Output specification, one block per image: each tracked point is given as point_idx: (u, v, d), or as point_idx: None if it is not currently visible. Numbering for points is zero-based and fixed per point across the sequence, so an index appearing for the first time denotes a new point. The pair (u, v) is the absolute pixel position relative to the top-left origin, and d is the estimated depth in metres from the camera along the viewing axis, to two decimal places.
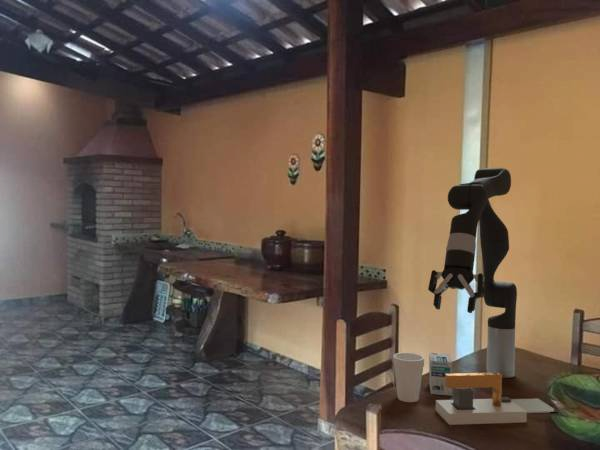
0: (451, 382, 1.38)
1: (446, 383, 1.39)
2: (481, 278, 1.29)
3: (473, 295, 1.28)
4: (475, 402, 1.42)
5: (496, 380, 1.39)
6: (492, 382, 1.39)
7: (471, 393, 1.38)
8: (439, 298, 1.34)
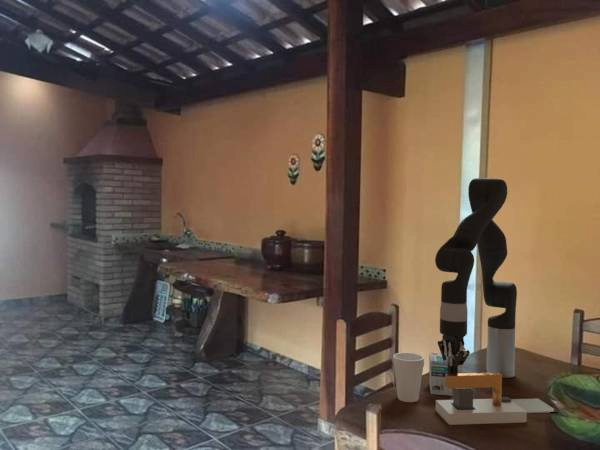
0: (451, 382, 1.38)
1: (446, 383, 1.39)
2: (460, 355, 1.36)
3: (451, 364, 1.40)
4: (475, 402, 1.42)
5: (496, 380, 1.39)
6: (492, 382, 1.39)
7: (471, 393, 1.38)
8: None
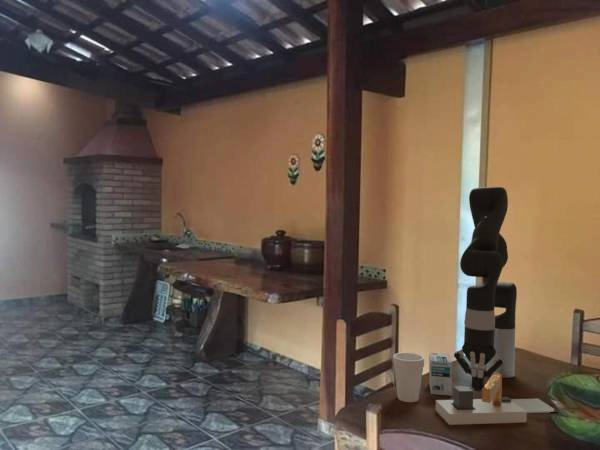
0: (491, 395, 1.28)
1: (487, 398, 1.28)
2: (499, 365, 1.28)
3: (482, 376, 1.30)
4: (475, 402, 1.42)
5: (500, 380, 1.39)
6: (499, 383, 1.38)
7: (471, 393, 1.38)
8: None
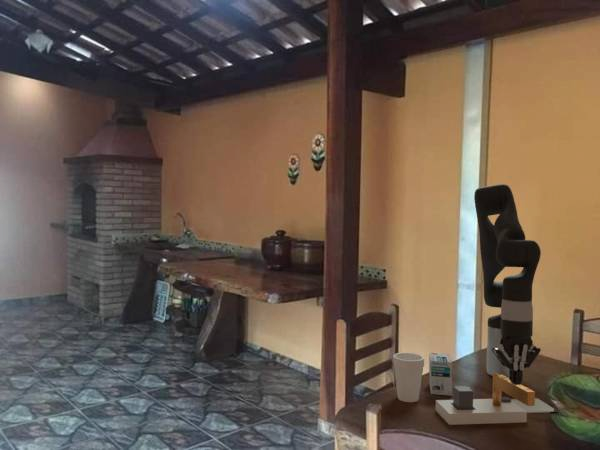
0: None
1: (532, 401, 1.26)
2: (537, 353, 1.28)
3: (522, 368, 1.27)
4: (475, 402, 1.42)
5: None
6: None
7: (471, 393, 1.38)
8: None
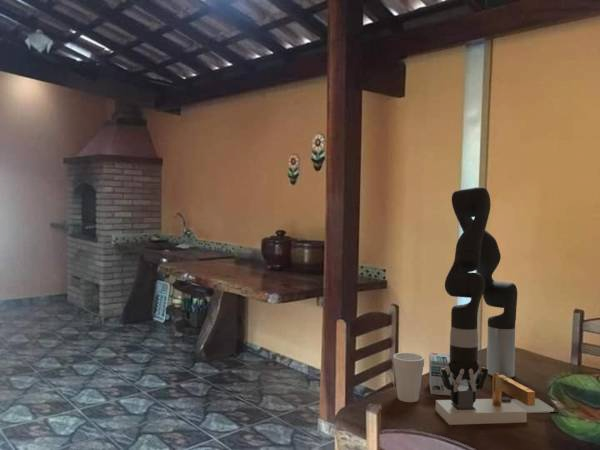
0: None
1: (532, 401, 1.26)
2: (486, 374, 1.39)
3: (475, 389, 1.39)
4: (475, 402, 1.42)
5: None
6: None
7: (471, 393, 1.38)
8: None
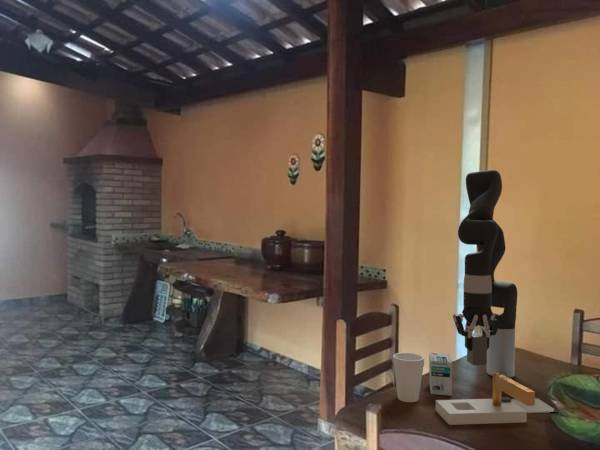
0: None
1: (532, 401, 1.26)
2: (499, 320, 1.40)
3: (489, 335, 1.40)
4: (475, 402, 1.42)
5: None
6: None
7: (485, 339, 1.39)
8: None
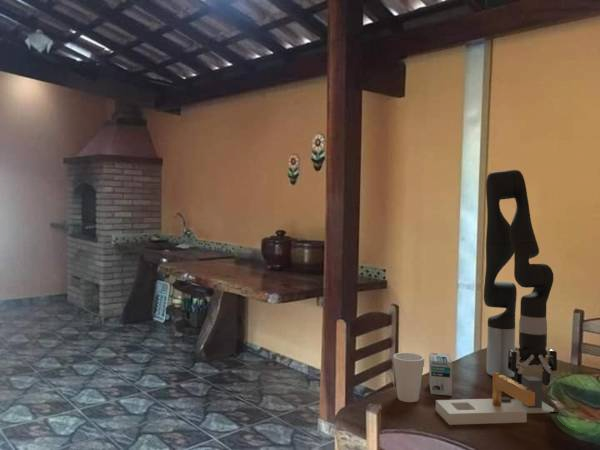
0: None
1: (532, 401, 1.26)
2: (555, 355, 1.47)
3: (550, 371, 1.47)
4: (475, 402, 1.42)
5: None
6: None
7: (540, 382, 1.46)
8: None
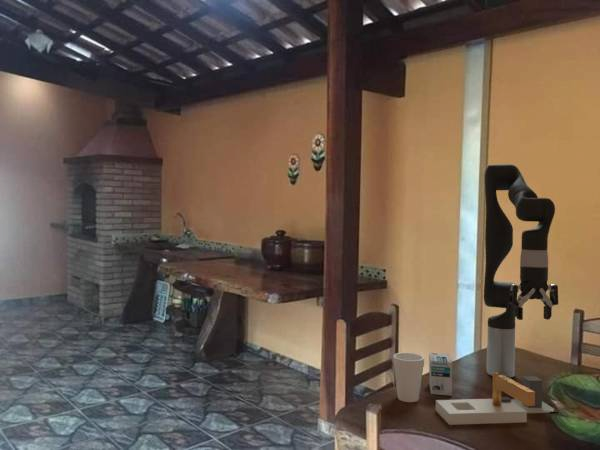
0: None
1: (532, 401, 1.26)
2: (557, 289, 1.47)
3: (551, 305, 1.47)
4: (475, 402, 1.42)
5: None
6: None
7: (540, 382, 1.46)
8: None
